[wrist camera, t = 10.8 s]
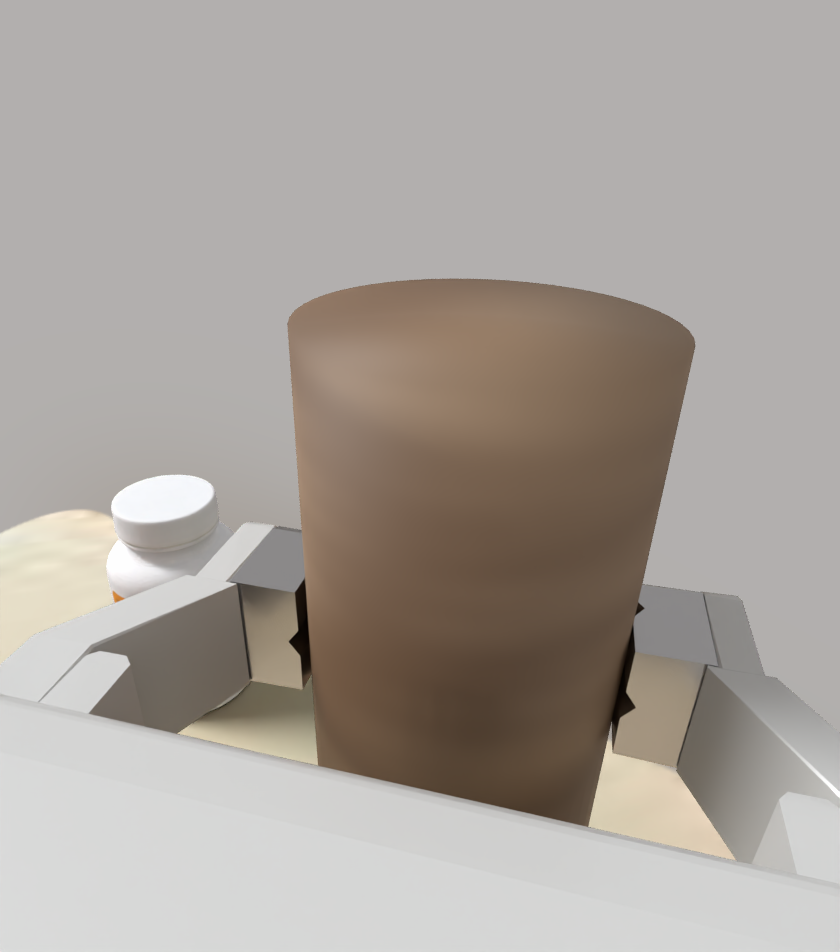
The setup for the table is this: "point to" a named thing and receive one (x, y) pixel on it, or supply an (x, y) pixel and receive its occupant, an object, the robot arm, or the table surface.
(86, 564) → the table surface
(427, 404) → the peg
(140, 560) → the supplement bottle
